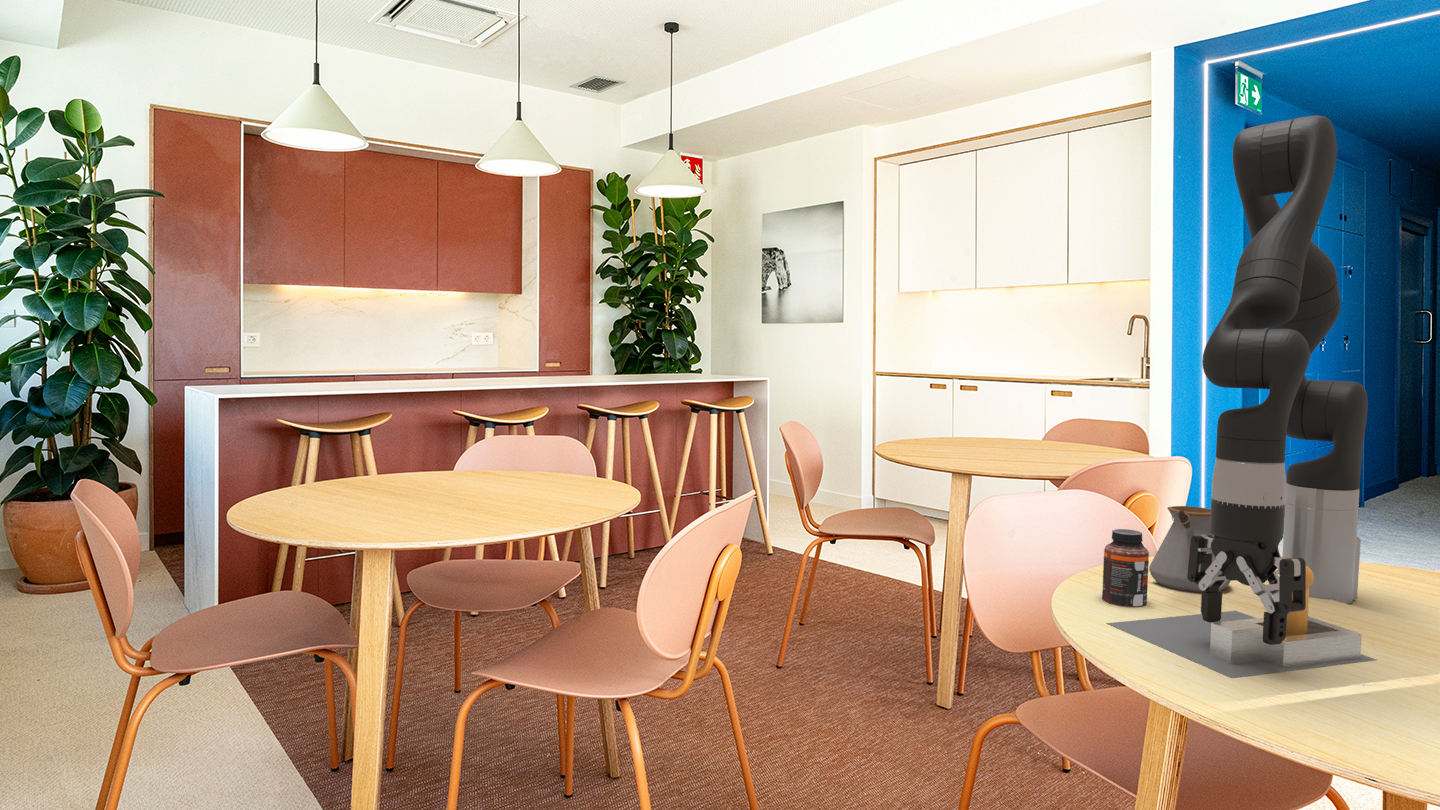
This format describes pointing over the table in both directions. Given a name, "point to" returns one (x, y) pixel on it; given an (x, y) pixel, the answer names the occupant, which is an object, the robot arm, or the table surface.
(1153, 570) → the coffee pot
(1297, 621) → the pin
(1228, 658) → the steel link
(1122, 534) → the supplement bottle
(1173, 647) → the rubber mat
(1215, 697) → the table surface
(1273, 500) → the robot arm
